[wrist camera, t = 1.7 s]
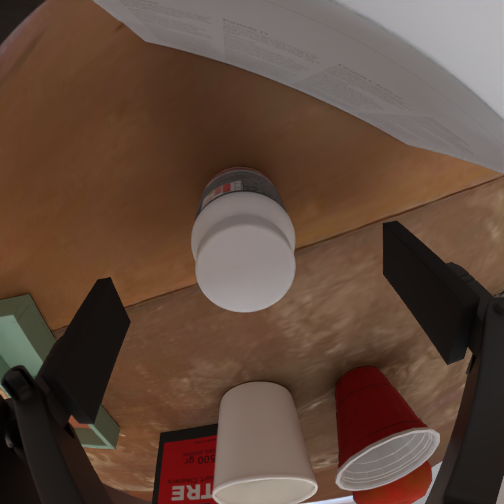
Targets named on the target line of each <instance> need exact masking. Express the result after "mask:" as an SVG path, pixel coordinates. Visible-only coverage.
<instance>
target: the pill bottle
mask: <svg viewBox="0 0 504 504" xmlns="http://www.w3.org/2000/svg"><path fill="white" fill-rule="evenodd" d="M191 248H192V253H193V256H194V259H195V261H196V263H195V274H196V279H197V282H198V284H199V287H200V289H201V290H202V292H203V293H204V294H205V295H206V297H207V298H208V299H210V300H211V301H212V302H213V303H215V304H216V305H218V306H220V307H222V308H224V309H227V310H231V311H236V312H253V311H258V310H262V309H264V308H267V307H269V306H271V305H273V304H274V303H276V302H277V301H278V300H280V299H281V298H282V297H283V296H284V295H285V294H286V292H287V291H288V289H289V288H290V286H291V284H292V282H293V279H294V275H295V268H296V264H295V257H294V254H293V253H294V249H295V232H294V227H293V225H292V222H291V219H290V217H289V215H288V213H287V211H286V209H285V207H284V205H283V203H282V201H281V199H280V196H279V194H278V192H277V190H276V188H275V186H274V185H273V183H272V182H271V181H270V179H269V178H268V177H266V176H265V175H264V174H262V173H261V172H259V171H257V170H255V169H252V168H247V167H233V168H229V169H226V170H223V171H221V172H220V173H218V174H217V175H215V176H214V177H213V178H212V179H211V180H210V181H209V182H208V183H207V185H206V187H205V188H204V190H203V193H202V196H201V199H200V203H199V207H198V210H197V214H196V217H195V221H194V224H193V228H192V235H191Z"/></svg>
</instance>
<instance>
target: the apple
mask: <svg viewBox="0 0 504 504" xmlns="http://www.w3.org/2000/svg"><path fill="white" fill-rule="evenodd" d="M431 481H432V470H431V466H430V464H429V463H428V461H427V460H426V461H425V462H424V463H423V464H422V465H420V466H419V467H417V468H416V469H414V470H413V471H411V472H410V473H408V474H407V475H405V476H403V477H401V478H399V479H397V480H395V481H393V482H391V483H388V484H386V485H382V486H379V487H376V488H372V489H368V490H358V491H353V500H354V501H355V502H356V503H357V504H411V503H413V502H415V501H416V500H418V499H420V498H421V497H423V496H424V495H425V494H426V492H427V490H428V488H429V486H430V484H431Z"/></svg>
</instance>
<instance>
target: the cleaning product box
mask: <svg viewBox="0 0 504 504" xmlns="http://www.w3.org/2000/svg"><path fill="white" fill-rule="evenodd" d="M217 431H218V424H214V425H209V426H203V427H197V428H192V429H185V430H179V431H172V432H165V433H161V435H160V442H159V449H158V457H157V465H156V473H155V481H154V490H153V499H152V504H219V503H217V502H216V501H215V500H214V499H213V497H212V491H213V483H214V469H215V456H216V443H217Z"/></svg>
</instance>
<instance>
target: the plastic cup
mask: <svg viewBox="0 0 504 504" xmlns="http://www.w3.org/2000/svg"><path fill="white" fill-rule="evenodd" d="M335 391H336V392H335V400H336V409H337V412H336V419H337V431H338V444H339V456H338V457H339V464H338V467H339V469H338V473H337V476H336V482H335V483H336V484H337V485H338V486H339V487H340V488H341V489H345V490H350V491H358V490H368V489H372V488H376V487H379V486H382V485H386V484H388V483H391V482H393V481H395V480H397V479H399V478H401V477H403V476H405V475H407V474H408V473H410V472H411V471H413V470H414V469H416V468H417V467H419V466H420V465H422V464H423V463H424V462H425V461H426V460H427V459H428V458H429V457H430V456H431V455H432V454H433V453H434V451H435V449H436V448H437V446H438V444H439V443H440V437H439V433H438V432H437V431H435V430H433V429H431V428H429V427H427V425H425V424H424V423H423V422H422V421H421V420H420V419H419V418H418V417H417V416H416V415H415V413H414V412H413V411H412V409H411V408H410V407H409V405H408V404H407V403H406V401H405V400H404V399H403V398H402V396H401V395H400V394H399V392H398V391H397V390H396V389H395V388H394V387H393V386H392V385H391V383H390V382H389V381H388V379H387V378H386V377H385V375H384V374H383V373H382V372H381V371H380V370H379V369H377V368H376V367H371V366H365V367H359V368H356V369H354V370H352V371H349V372H348V373H347V374H345V375H344V376H343V377H341V378H340V380H339V381H338V383H337V384H336V389H335Z"/></svg>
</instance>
